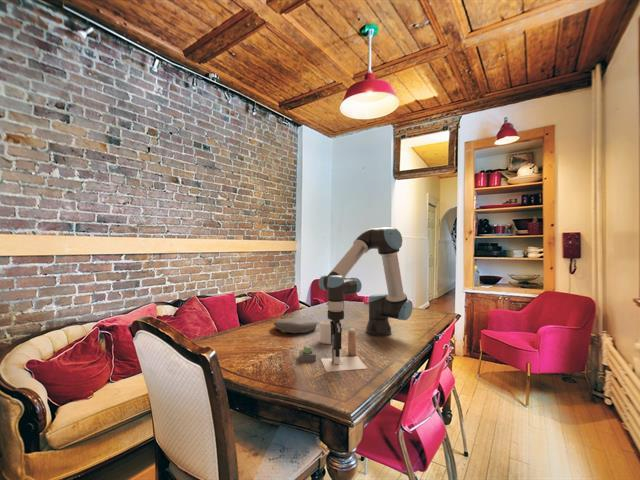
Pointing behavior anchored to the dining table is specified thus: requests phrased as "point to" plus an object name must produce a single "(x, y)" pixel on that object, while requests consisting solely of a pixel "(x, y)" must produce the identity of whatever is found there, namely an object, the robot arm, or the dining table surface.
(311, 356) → the button base
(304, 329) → the flat disc
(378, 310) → the robot arm
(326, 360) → the paper
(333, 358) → the marker
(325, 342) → the mug
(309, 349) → the button
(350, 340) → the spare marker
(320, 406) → the dining table surface
